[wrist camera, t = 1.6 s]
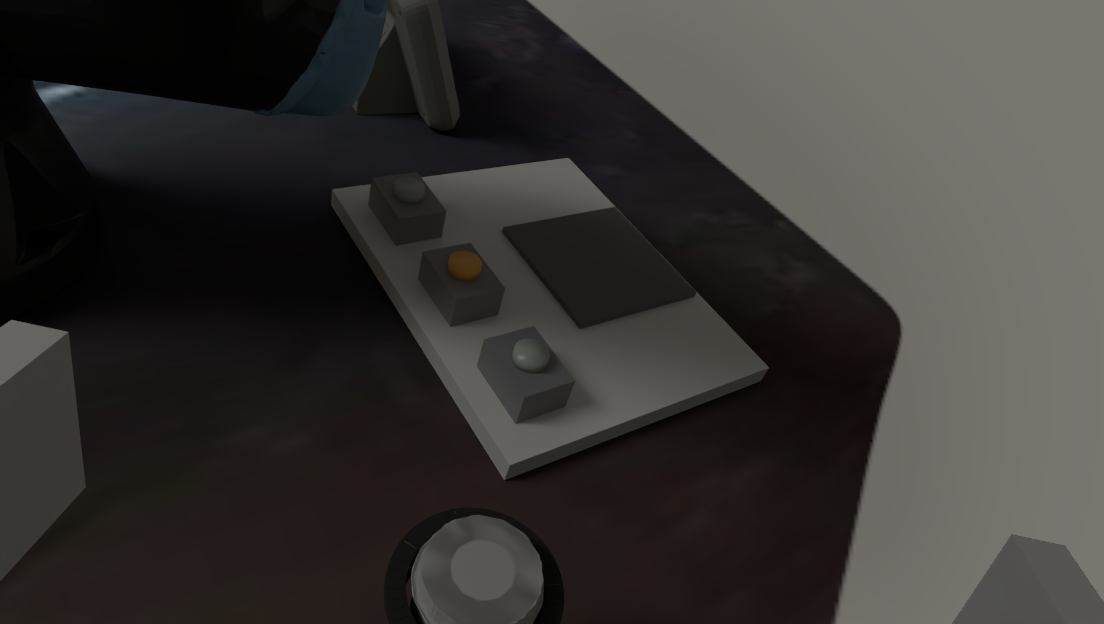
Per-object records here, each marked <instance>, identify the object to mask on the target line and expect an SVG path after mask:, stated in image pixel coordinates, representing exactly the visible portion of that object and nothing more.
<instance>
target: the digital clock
mask: <svg viewBox="0 0 1104 624" xmlns="http://www.w3.org/2000/svg"><path fill="white" fill-rule="evenodd" d="M386 4H387V10H386V19H385V24H384V29H383V33H382V38H381V42H380V45H379V49H378V52H377V56H376V59H375V62H374V66H373V69H372V71H371V74H370V77H369V79H368V82H367V84H366V86H365V88H364V91H363V92H362V94H361V96H360V97H359V98H358V100H357V101H356V102H355V103H354V104H353V105H352V107H353V108H354V110H355V111H356V113H357V114H359V115H374V114H398V113H419V114H420V115H421V117H422V118H423V119H424V121H425V122H426V123H427V125H428V126H429V127H431V128H434V129H437V130H441V131H448V130H451V129H453V128H454V126H455V124H456V122H457V120H458V118H459V116H460V110H459V104H458V99H457V94H456V89H455V84H454V79H453V74H452V68H451V63H450V58H449V53H448V48H447V43H446V38H445V33H444V27H443V22H442V17H441V13H440V8H439V4H438V0H386Z"/></svg>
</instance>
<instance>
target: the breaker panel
mask: <svg viewBox="0 0 1104 624" xmlns="http://www.w3.org/2000/svg"><path fill="white" fill-rule="evenodd" d="M331 206H332V207H333V209H334V211H335V212H336V214H337V215H338V217H339V219H340V220H341V222H342V223H343V225H344V226H345V228H346V230H347V231H348V233H349V234H350V236H351V238H352V239H353V241H354V242H355V244H356V246H357V247H358V249H359V250H360V252H361V253H362V255H363V257H364V258H365V260H366V261H367V263H368V265H369V266H370V268H371V269H372V271H373V273H374V274H375V276H376V277H377V279H378V280H379V282H380V284H381V285H382V287H383V288H384V290H385V292H386V293H387V295H388V296H389V298H390V300H391V301H392V303H393V304H394V306H395V307H396V309H397V311H398V312H399V314H400V315H401V317H402V319H403V320H404V322H405V323H406V325H407V327H408V328H409V330H410V331H411V333H412V334H413V336H414V338H415V339H416V341H417V342H418V344H419V346H420V347H421V349H422V350H423V352H424V353H425V355H426V357H427V358H428V360H429V361H430V363H431V365H432V366H433V368H434V369H435V371H436V373H437V374H438V376H439V377H440V379H441V380H442V382H443V384H444V385H445V387H446V388H447V390H448V392H449V393H450V395H451V396H452V398H453V400H454V401H455V403H456V404H457V406H458V407H459V409H460V411H461V412H462V414H463V415H464V417H465V419H466V420H467V422H468V423H469V425H470V427H471V428H472V430H473V431H474V433H475V434H476V436H477V438H478V439H479V441H480V442H481V444H482V446H483V447H484V449H485V450H486V452H487V454H488V455H489V457H490V458H491V460H492V461H493V463H494V465H495V466H496V468H497V469H498V471H499V473H500V474H501V476H502V477H503V479H504V480H507V479H509V478H512V477H514V476H517V475H519V474H522V473H525V472H527V471H530V470H532V469H535V468H538V467H540V466H543V465H545V464H548V463H550V462H553V461H556V460H558V459H561V458H563V457H566V456H569V455H571V454H574V453H576V452H579V451H581V450H584V449H587V448H589V447H592V446H594V445H597V444H600V443H602V442H605V441H607V440H610V439H612V438H615V437H618V436H620V435H623V434H625V433H628V432H631V431H633V430H636V429H638V428H641V427H644V426H646V425H649V424H651V423H654V422H656V421H659V420H662V419H664V418H667V417H669V416H672V415H675V414H677V413H680V412H682V411H685V410H687V409H690V408H693V407H695V406H698V405H700V404H703V403H706V402H708V401H711V400H713V399H716V398H718V397H721V396H724V395H726V394H729V393H731V392H734V391H737V390H739V389H742V388H744V387H747V386H749V385H752V384H755V383H757V382H760V381H761V380H762V378H763V377H764V375H765V373H766V372H767V370H768V369H769V367H768V366H767V365H766V364H765V363H764V362H763V361H762V360H761V359H760V358H759V357H758V356H757V354H756V353H755V352H754V351H753V350H752V349H751V348H750V347H749V346H748V345H747V344H746V343H745V342H744V341H743V340H742V339H741V338H740V337H739V336H738V335H737V334H736V333H735V331H734V330H733V329H732V328H731V327H730V326H729V325H728V324H727V323H726V322H725V321H724V320H723V319H722V318H721V317H720V316H719V315H718V314H717V313H716V312H715V311H714V310H713V308H712V307H711V306H710V305H709V304H708V303H707V302H706V301H705V300H704V299H703V298H702V297H701V296H700V295H699V294H698V293H697V292H696V291H695V290H694V289H693V288H692V287H691V285H690V284H689V283H688V282H687V281H686V280H685V279H684V278H683V277H682V276H681V275H680V274H679V273H678V272H677V271H676V270H675V269H674V268H673V267H672V266H671V265H670V264H669V262H668V261H667V260H666V259H665V258H664V257H663V256H662V255H661V254H660V253H659V252H658V251H657V250H656V249H655V248H654V247H653V246H652V245H651V244H650V243H649V242H648V240H647V239H646V238H645V237H644V236H643V235H642V234H641V233H640V232H639V231H638V230H637V229H636V228H635V227H634V226H633V225H632V224H631V223H630V222H629V221H628V220H627V219H626V217H625V216H624V215H623V214H622V213H621V212H620V211H619V210H618V209H617V208H616V207H615V206H614V205H613V204H612V203H611V202H610V201H609V200H608V199H607V198H606V197H605V196H604V194H603V193H602V192H601V191H600V190H599V189H598V188H597V187H596V186H595V185H594V184H593V183H592V182H591V181H590V180H589V179H588V178H587V177H586V176H585V175H584V174H583V173H582V171H581V170H580V169H579V168H578V167H577V166H576V165H575V164H574V163H573V162H572V161H571V160H570V159H569V158H564V159H557V160H549V161H542V162H534V163H527V164H519V165H512V166H504V167H497V168H489V169H481V170H474V171H466V172H459V173H451V174H444V175H436V176H429V177H421V176H420V175H419V174H418V172H414V173H407V174H399V175H391V176H383V177H375V178H371V184H369V185H361V186H353V187H346V188H338V189H332V199H331Z"/></svg>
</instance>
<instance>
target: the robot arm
mask: <svg viewBox="0 0 1104 624" xmlns="http://www.w3.org/2000/svg"><path fill="white" fill-rule="evenodd" d="M386 10H387V4H386V0H0V322H2V321H5V320H7V319H10V318H12V317H15V316H17V315H19V314H21V313H24V312H26V311H28V310H30V309H32V308H34V307H36V306H38V305H39V304H41V303H43V302H44V301H46V300H48V299H49V298H51V297H52V296H54V295H55V294H57V293H58V292H60V291H61V290H62V289H64V288H65V287H66V286H68V285H69V284H70V283H71V282H72V281H73V280H74V279H75V278H76V277H77V276H78V275H79V274H80V273H81V272H82V271H83V270H84V269H85V267H86V266H87V265H88V263H89V262H90V260H91V259H92V257H93V255H94V254H95V252H96V249H97V247H98V244H99V240H100V235H101V222H100V215H99V210H98V204H97V198H96V192H95V189H94V185H93V183H92V180H91V178H90V176H89V173H88V172H87V170H86V168H85V167H84V165H83V164H82V162H81V160H80V159H79V157H78V156H77V154H76V153H75V151H74V149H73V148H72V146H71V145H70V143H69V142H68V140H67V138H66V137H65V135H64V134H63V132H62V131H61V129H60V128H59V126H58V124H57V123H56V121H55V120H54V118H53V117H52V115H51V113H50V112H49V110H48V109H47V107H46V106H45V104H44V103H43V101H42V99H41V98H40V96H39V95H38V93H37V92H36V90H35V87H34V84H33V80H35V81H45V82H53V83H60V84H68V85H75V86H82V87H90V88H97V89H105V90H112V91H120V92H127V93H135V94H142V95H149V96H156V97H163V98H170V99H176V100H183V101H190V102H196V103H203V104H210V105H217V106H223V107H230V108H237V109H243V110H250V111H254V112H255V113H256V114H261V115H265V116H275V115H279V114H281V113H289V114H301V115H313V116H333V115H336V114H339V113H342V112H344V111H345V110H347V109H349V108H350V107H351V106H352V105H353V104H354V103H355V102H356V101H357V100H358V98H359V97H360V96H361V94H362V92H363V91H364V88H365V86H366V84H367V82H368V79H369V77H370V74H371V71H372V69H373V66H374V62H375V59H376V56H377V52H378V49H379V45H380V42H381V38H382V33H383V29H384V24H385V19H386ZM85 487H86V486H85V477H84V468H83V459H82V450H81V441H80V432H79V423H78V414H77V405H76V395H75V386H74V377H73V368H72V359H71V350H70V341H69V332H66V331H61V330H57V329H52V328H47V327H43V326H38V325H33V324H29V323H24V322H19V321H15V320H10V321H9V322H8V323H6V324H5V325H3V326H2V327H0V581H1V580H2V579H3V578H4V576H5V575H6V574H7V573H8V572H9V571H10V570H11V569H12V568H13V566H14V565H15V564H16V563H17V562H18V561H19V560H20V559H21V558H22V557H23V555H24V554H25V553H26V552H27V551H28V550H29V549H30V548H31V547H32V545H33V544H34V543H35V542H36V541H37V540H38V539H39V538H40V537H41V536H42V534H43V533H44V532H45V531H46V530H47V529H48V528H49V527H50V526H51V525H52V523H53V522H54V521H55V520H56V519H57V518H58V517H59V516H60V515H61V513H62V512H63V511H64V510H65V509H66V508H67V507H68V506H69V505H70V504H71V502H72V501H73V500H74V499H75V498H76V497H77V496H78V495H79V494H80V493H81V491H82V490H83V489H84V488H85ZM953 624H1104V603H1103V601H1102V599H1101V598H1100V596H1099V595H1098V593H1097V592H1096V590H1095V589H1094V588H1093V586H1092V585H1091V583H1090V582H1089V580H1088V579H1087V578H1086V576H1085V575H1084V573H1083V571H1082V570H1081V569H1080V567H1079V566H1078V564H1077V563H1076V561H1075V560H1074V558H1073V557H1072V556H1071V554H1070V552H1069V551H1068V550H1067V548H1066V547H1065V546H1064V545H1059V544H1054V543H1049V542H1045V541H1040V540H1036V539H1031V538H1026V537H1022V536H1017V535H1011V537H1010V538H1009V539H1008V541H1007V542H1006V544H1005V545H1004V547H1003V548H1002V550H1001V551H1000V553H999V554H998V556H997V558H996V559H995V560H994V562H993V563H992V565H991V566H990V568H989V570H988V571H987V573H986V574H985V575H984V577H983V578H982V580H981V581H980V583H979V584H978V586H977V588H976V589H975V591H974V592H973V593H972V595H971V596H970V598H969V600H968V601H967V602H966V604H965V606H964V607H963V608H962V610H961V611H960V613H959V614H958V616H957V617H956V619H955V621H954V622H953Z"/></svg>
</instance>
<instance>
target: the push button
mask: <svg viewBox="0 0 1104 624" xmlns="http://www.w3.org/2000/svg"><path fill="white" fill-rule="evenodd" d="M410 576H411V579H412V598H411V602H410V606H408V602H407V597H406V583H407V581H408V579H409V578H410ZM384 604H385V610H386V615H387V618H388V621H389V624H533V622H534V624H560V622H561V618H562V614H563V608H564V588H563V582H562V577H561V574H560V571H559V568H558V566H557V563H556V561H555V559H554V557H553V555H552V554H551V552H550V551H549V549H548V548H547V546H546V545H545V544H544V543H543V541H542V540H541V539H540V538H539V537H538V536H537V535H536V534H535V533H534V532H533V531H532V530H530V529H529V528H528V527H527V526H525V525H524V524H522V523H521V522H519V521H517V520H515V519H514V518H512V517H509V516H507V515H505V514H502V513H499V512H496V511H492V510H488V509H481V508H458V509H452V510H448V511H444V512H441V513H438V514H435V515H433V516H431V517H429V518H427V519H425V520H424V521H422V522H420V523H419V524H418V525H416V526H415V527H414V528H413V529H411V530H410V531H409V532H408V533H407V534H406V535H405V537H404V538H403V539H402V540H401V541H400V543H399V544H398V546H397V547H396V549H395V551H394V553H393V555H392V557H391V560H390V562H389V565H388V569H387V573H386V578H385V585H384Z"/></svg>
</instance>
